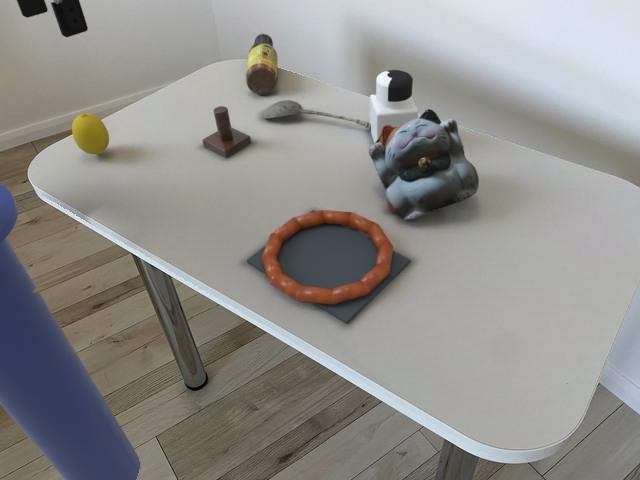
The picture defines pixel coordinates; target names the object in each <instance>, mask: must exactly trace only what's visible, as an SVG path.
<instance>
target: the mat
mask: <svg viewBox="0 0 640 480" xmlns="http://www.w3.org/2000/svg"><path fill="white" fill-rule="evenodd" d="M316 211H317V210H313V209H312V210H311V211H309V213H312V212H316ZM265 247H266V245H264V246H263V247H262V248H261V249H259V250H258V251H257V252H255V253H254V254H252V255H251V256H250V257H248V258H247V259H246V263H247V264H248V265H250V266H253V267H254V268H255V269H257V270H259V271H260V272H262V273H263V274H264V275H267V273H266V270H265V268H264V265H263V263H262V255H263V253H264V250H265ZM377 255H378V249H377V247H376V245H375V244H374V242H373V241H372V239H371V238H370V237H367V236H365V235H363V234H361V233H359V232H357V231H355V230H353V229H352V228H349V227H347V226H346V225H336V224H320V225H316V226H313V227H309V228H305V229H301V230H299V231H298V232H296V233H295V234H294V235H292V236H291V237H290V238H288V239H287V240H286V241H285V242H283V243H282V246H281V249H280V251H279V254H278V257H277V260H278V263H279V265H280V267H281V270H282V272H283V274H284V275H286V276H288V277H289V278H291V279H293V280H294V281H296V282H298V283H299V284H301V285H303V286H309V287H319V288H329V289H333V288H337V287H340V286H343V285H347V284H350V283H354V282H357V281H360V280H361V279H362V278H363V277H364V276H365V275H366V274H367V273H368V272H369V271H371V270H372V269H373V268H374V267H375V266H376V261H377ZM409 264H411V259H410V258H408V257H406V256H404V255H402V254H400V253H398V252H396V251H395V250H393V254H392V261H391V268H390V273H389V274H388V275H387V276H386V277H385V278H384V279H383V280H382V281H381V282H380V283H379V284H378V285H377V286H376V287H375V288H374V289H373V290H372V291H371V292H370V293H369V294H367V295H364V296H361V297H358V298H354V299H351V300H348V301H345V302H341V303H338V304H334V305H331V304H321V303H313V304H314V305H316V306H317V307H319V308H320V309H322V310H324V311H325V312H327V313H328V314H331V316H334V317H335V318H337V319H339V320H340V321H342V322H343V323H345V324H348V323H349V322H350V321H351V320H352V319H353V318H355V317H356V316H357V315H358V314H359V313H360V312H361V310H363V309H364V308H365V307H366V306H367V305H368V304H369V303H370V302H371V301H372V300H373V299H374V298H375V297H376V296H378V294H379V293H380V292H382V291H383V289H385V288H386V287H387V285H388V284H389V283H391V282H392V280H394V278H396V277H397V276H398V275H399V274H400V273H401V272H402V271H403V270H404V269H405V268H406V267H407V266H408V265H409Z"/></svg>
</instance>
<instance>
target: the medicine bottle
mask: <svg viewBox="0 0 640 480" xmlns="http://www.w3.org/2000/svg"><path fill="white" fill-rule="evenodd" d="M413 81H414V79H413V77H412V75H411V74H410V73H408V72H407V71H404V70H400V69H389V70H385V71H382V72H381V73H379V74H378V75H377V76H376V82H375V83H376V85H375V86H376V88H375V94H370V96H369V124H370V123H371V129H370V131H369V132H370V134H371V137H372V141H373V144H374V143H375V142H376V141H377V140H378V139H379V137H380V134H381V132H382V127H383V126H385V125H391V126H393V127H397V128H398V127H399V126H400V125H402V124H404V123H406V122H408V121H409V120H411V119H417V118H419V108H418V107H417V105H416V103H415V101H414V99H413V83H414V82H413Z"/></svg>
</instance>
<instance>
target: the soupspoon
mask: <svg viewBox="0 0 640 480" xmlns="http://www.w3.org/2000/svg"><path fill="white" fill-rule="evenodd" d="M299 114H304V115H315V116H316V115H317V116H321V117H322V116H323V117H329V118H334V119H338V120H344V121H348V122H352V123H353V122H354V123H355V124H356V125H358V124H359V125H360V126H362V127H364V128H366V129H368V131H369V132H371V131H370V129H371V123H370V121H364V120H360V119H359V118H357V119H356V118H352V117H350V116H349V117H348V116H344V115H339V114H335V113H330V112H329V113H328V112H323V111H318V110H308V109H303V106H302V104H300V102H298V101H295V100H292V99H291V100H289V99H284V100H283V99H282V100H280V101H277V102H275V103H273V104H271V105H270V106H269V107H268V108H267V109H266V110H265V112H264V113H263V116H262V118H263V119H265V120H266V119H275V118H281V117H287V116H293V115H299Z"/></svg>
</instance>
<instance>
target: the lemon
mask: <svg viewBox="0 0 640 480" xmlns="http://www.w3.org/2000/svg"><path fill="white" fill-rule="evenodd" d="M71 133H72V137H73V140H74V142H75V144H76V146H77V147H78V148H79V149H80V150H81V151H83V152H84V153H86V154H89V155H96V156H100V155H101V154H102V153H104V151H106V149H107V148H108V146H109V144H110V135H109V134H110V133H109V130H108V129H107V127H106V125H105V123H104V122H103V121H102V119H100V117H98V116H97V115H95V114H92V113H85V112H82V113H80V115H78V116H76V117H75V118H74V120H73V122H72V124H71Z"/></svg>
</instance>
